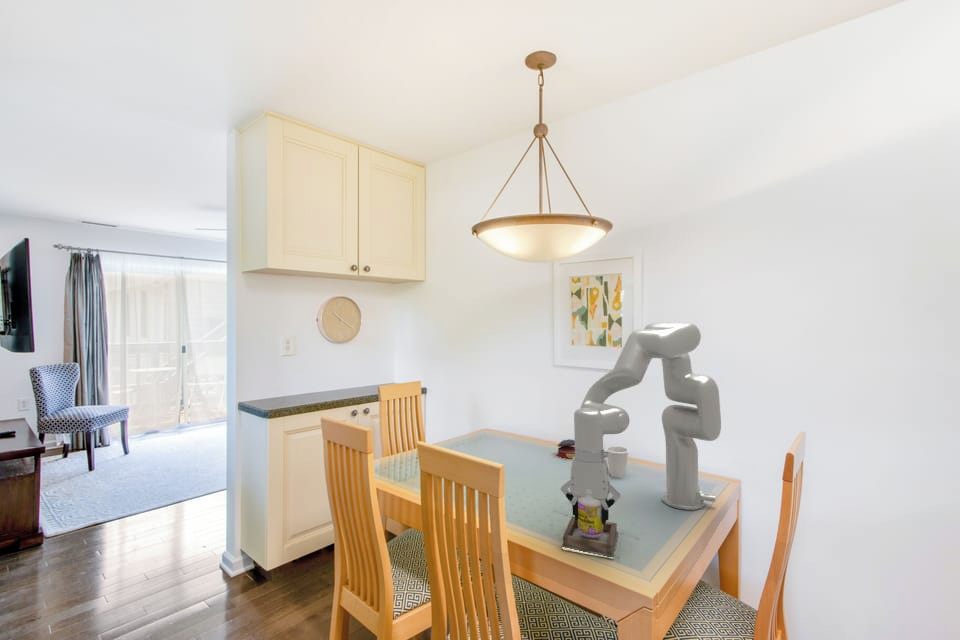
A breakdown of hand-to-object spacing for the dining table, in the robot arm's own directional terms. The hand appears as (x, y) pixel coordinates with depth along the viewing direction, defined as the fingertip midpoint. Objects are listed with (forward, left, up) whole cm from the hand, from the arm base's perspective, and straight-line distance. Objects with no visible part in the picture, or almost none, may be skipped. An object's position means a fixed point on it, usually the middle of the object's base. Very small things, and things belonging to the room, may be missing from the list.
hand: (590, 519), depth 118 cm
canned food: (+20, -71, -7) cm, 74 cm away
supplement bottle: (0, 0, -4) cm, 4 cm away
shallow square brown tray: (0, 0, -6) cm, 6 cm away
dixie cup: (-2, -54, -6) cm, 54 cm away
